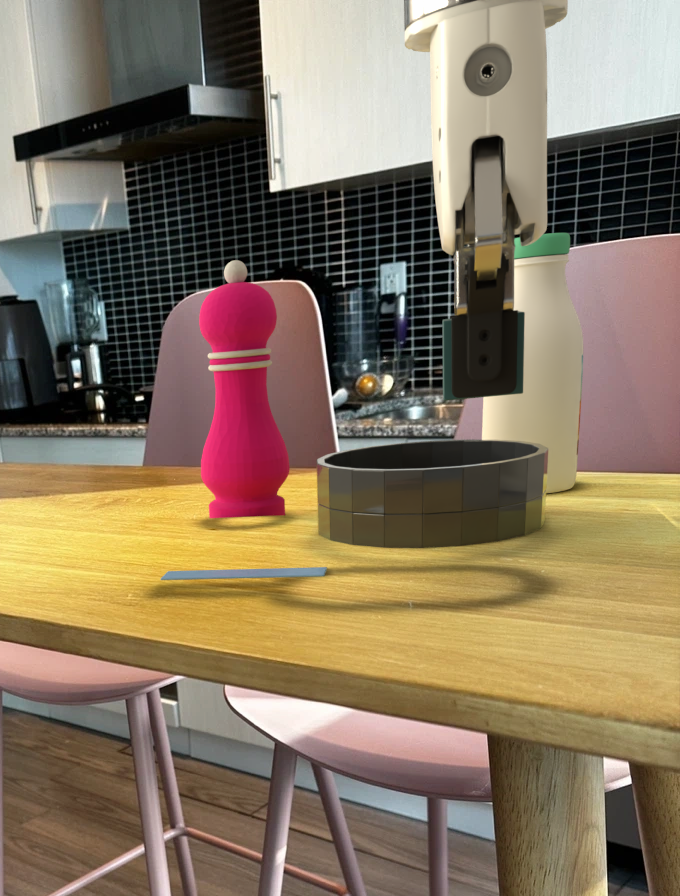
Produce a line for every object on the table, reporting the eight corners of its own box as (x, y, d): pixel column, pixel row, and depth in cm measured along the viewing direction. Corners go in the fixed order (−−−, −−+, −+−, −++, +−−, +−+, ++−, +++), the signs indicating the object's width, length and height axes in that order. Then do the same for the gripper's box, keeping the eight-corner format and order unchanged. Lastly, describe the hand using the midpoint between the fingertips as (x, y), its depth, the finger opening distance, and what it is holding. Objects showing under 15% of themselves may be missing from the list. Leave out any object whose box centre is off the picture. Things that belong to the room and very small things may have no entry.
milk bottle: (576, 495, 84) (593, 226, 77) (477, 498, 87) (485, 238, 80) (575, 480, 91) (591, 231, 84) (483, 483, 93) (491, 242, 86)
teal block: (517, 387, 57) (519, 310, 56) (523, 393, 54) (524, 311, 52) (442, 394, 58) (442, 319, 57) (443, 400, 55) (442, 321, 53)
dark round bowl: (476, 512, 81) (479, 434, 79) (588, 546, 67) (595, 452, 65) (291, 535, 79) (288, 454, 77) (365, 574, 65) (364, 478, 62)
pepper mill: (232, 513, 90) (219, 265, 83) (306, 515, 86) (299, 255, 79) (187, 529, 85) (169, 265, 78) (264, 532, 81) (252, 254, 74)
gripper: (592, -78, 41) (574, 398, 47) (550, 22, 56) (540, 374, 62) (399, -38, 43) (407, 413, 50) (407, 48, 58) (413, 386, 65)
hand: (481, 387), depth 56 cm, fingers closed on teal block, 4 cm apart
